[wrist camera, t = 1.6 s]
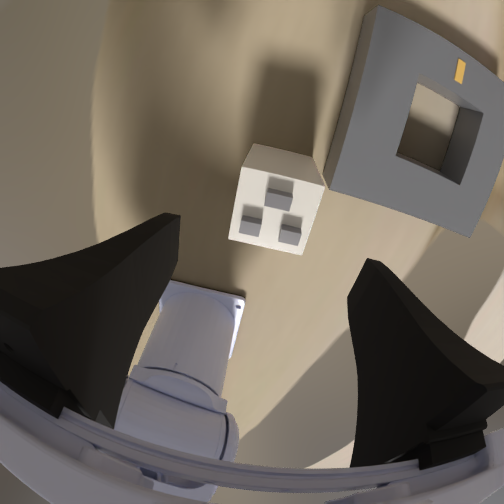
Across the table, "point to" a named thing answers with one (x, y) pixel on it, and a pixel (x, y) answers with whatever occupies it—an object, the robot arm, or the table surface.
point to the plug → (276, 199)
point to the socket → (395, 116)
